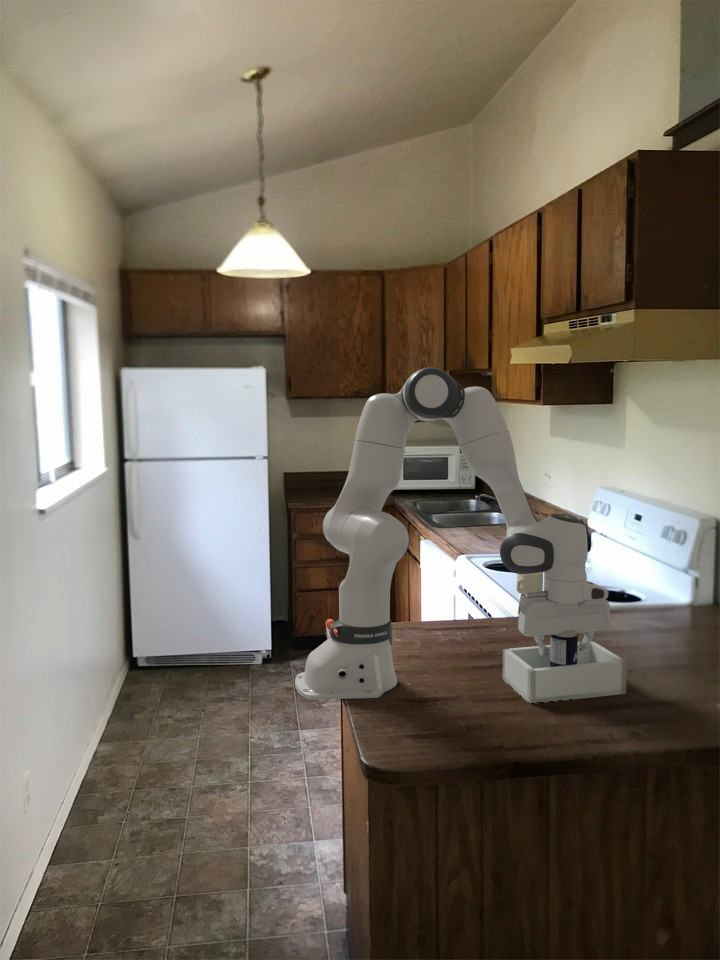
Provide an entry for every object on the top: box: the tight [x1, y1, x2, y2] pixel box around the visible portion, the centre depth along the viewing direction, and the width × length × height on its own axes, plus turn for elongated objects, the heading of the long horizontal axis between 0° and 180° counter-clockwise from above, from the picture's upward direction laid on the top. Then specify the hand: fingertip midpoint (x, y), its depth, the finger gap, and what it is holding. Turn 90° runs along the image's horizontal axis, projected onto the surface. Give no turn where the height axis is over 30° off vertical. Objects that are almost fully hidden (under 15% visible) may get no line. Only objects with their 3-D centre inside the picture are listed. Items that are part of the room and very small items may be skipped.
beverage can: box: [549, 630, 579, 667], centre depth 172 cm, size 6×6×12 cm
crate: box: [501, 640, 628, 705], centre depth 172 cm, size 22×14×7 cm, turn 103°
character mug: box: [516, 572, 544, 615], centre depth 224 cm, size 11×7×13 cm, turn 129°
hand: (563, 652), depth 172 cm, fingers open, 8 cm apart
